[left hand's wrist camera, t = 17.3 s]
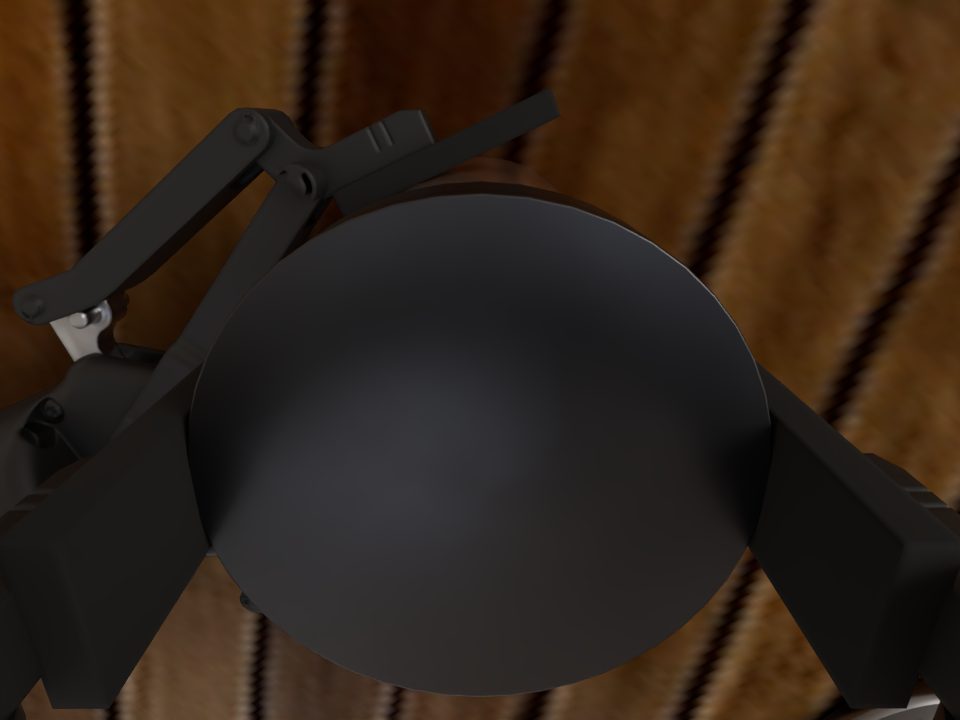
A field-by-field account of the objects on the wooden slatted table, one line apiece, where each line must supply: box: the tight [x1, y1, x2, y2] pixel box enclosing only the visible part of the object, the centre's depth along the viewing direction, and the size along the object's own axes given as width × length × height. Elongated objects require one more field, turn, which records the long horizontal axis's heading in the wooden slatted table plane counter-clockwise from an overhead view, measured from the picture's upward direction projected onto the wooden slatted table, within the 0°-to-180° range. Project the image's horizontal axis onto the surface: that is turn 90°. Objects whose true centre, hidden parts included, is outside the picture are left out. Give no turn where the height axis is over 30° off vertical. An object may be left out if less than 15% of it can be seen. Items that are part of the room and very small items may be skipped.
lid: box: [188, 181, 772, 697], centre depth 11 cm, size 10×10×2 cm
